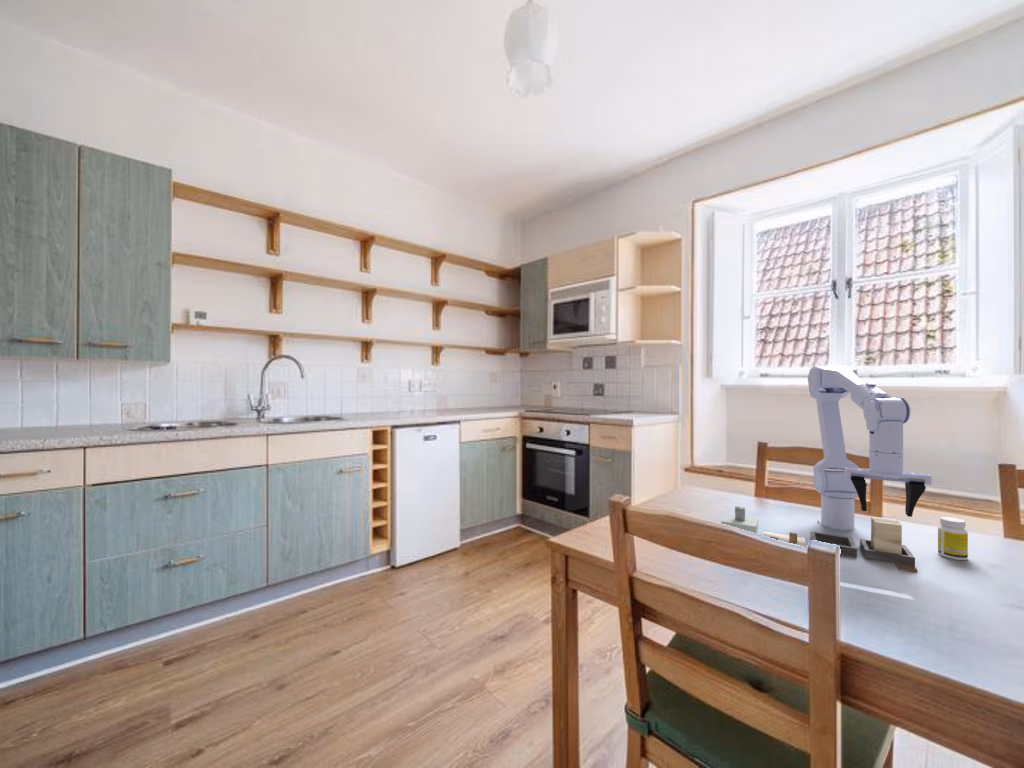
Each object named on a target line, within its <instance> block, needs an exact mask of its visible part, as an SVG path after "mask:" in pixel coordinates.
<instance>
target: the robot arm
mask: <svg viewBox="0 0 1024 768" xmlns="http://www.w3.org/2000/svg"><path fill="white" fill-rule="evenodd" d="M807 383H808V391H809V394H810V395H809V396H810V397H811V398H813V399H814V400H816V405H817V406H816V407H817V415H818V421H819V422H818V423H819V429H820V436H821V444H822V452H823V458H822V459H821V460H819V461H817V462H816V463H815V464H814V465H813V477H812V483H813V487H814V488H815V490H816V491H817V492H818V493H819V494H820V496H821V498H820V510H821V511H820V516H821V517H818V518H817V521H818V524H821V525H822V526H824V527H826V528H830V529H834V530H839V531H840V530H841V531H853V530H855V529H856V525H855V499H858V500H859V503H860V510H861V511H862V512H867V510H868V509H867V508H868V504H867V484H868V483H867V482H866V479H870V480H877V481H878V480H880V481H891V482H902V483H904V485H905V486H904V487H905V507H904V511H905V515H906V516H907V517H909V518H913V514H914V510H915V508H916V504H917V503H918V501H919V499H920V497H922V495H923V494H924V492H925V491H926V489H927V487H926V485H930V486H931V485H932V475H931V474H928V473H917V472H913V471H912V472H909V471H904V424H906V423H907V422H908V421H909V419H910V416H911V406H910V404H909V402H908V401H907V400H906V399H905V398H904V397H902V396H899V397H898V396H897V397H896V396H895V397H892V396H890V395H889V394H888V393H887V392H885V391H883V390H882V389H881V388H879V387H878V386H877V384H876V383H875V382H864V381H862V379H861V378H859V375H858V369H857V368H855V367H854V366H853V365H851V364H849V365H823V366H821V365H820V366H818V365H814V366H812V367H811V368H810V369H809V372H808V375H807ZM849 394H850V399H851V401H852V402H853V403H854V404H855V405H857V406H858V407H859V408H860V409H861V410H862V412H863V417H864V420H865V423H866V424H865V427H866V430H867V431H869V432H868V434H869V435H868V437H869V452H868V453H869V454H868V455H869V457H868V458H869V459H868V460H869V464H868V467H869V468H867V467H866V468H861V467H859V466H858V465H857V464H856V463H854V461H853V462H852V461H851V460H850V459H848V458H847V453H846V452H847V450H846V446H845V438H844V432H843V425H842V418H841V411H840V404H839V402H840V400H841V399H844V398H847V397H848V396H849Z"/></svg>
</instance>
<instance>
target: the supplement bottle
mask: <svg viewBox="0 0 1024 768" xmlns="http://www.w3.org/2000/svg"><path fill="white" fill-rule="evenodd" d="M939 524H940V525H937V553H938V555H940V556H942V557H944V558H948V559H951V560H955V561H956V560H957V561H966V560H968V559H969V557H968V556H969V548H968V547H969V545H968V544H969V542H968V541H969V537H968V536H969V532H968V530H967V529H966V521H965V520H964V519H961V518H957V517H949V516H941V517H940V518H939Z"/></svg>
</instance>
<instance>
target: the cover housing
mask: <svg viewBox="0 0 1024 768" xmlns="http://www.w3.org/2000/svg"><path fill="white" fill-rule="evenodd" d="M720 523H722V524H726V525H730V526H733V527H737V528H740V529H744V530H747V531H751V532H754V533H757V534H758V530H759V517H752V516H748V515H747V516H746V507H745V506H738V505H737V506H734V514H731V513H725V514H724V515H723V517H722V519H721V521H720Z"/></svg>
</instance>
